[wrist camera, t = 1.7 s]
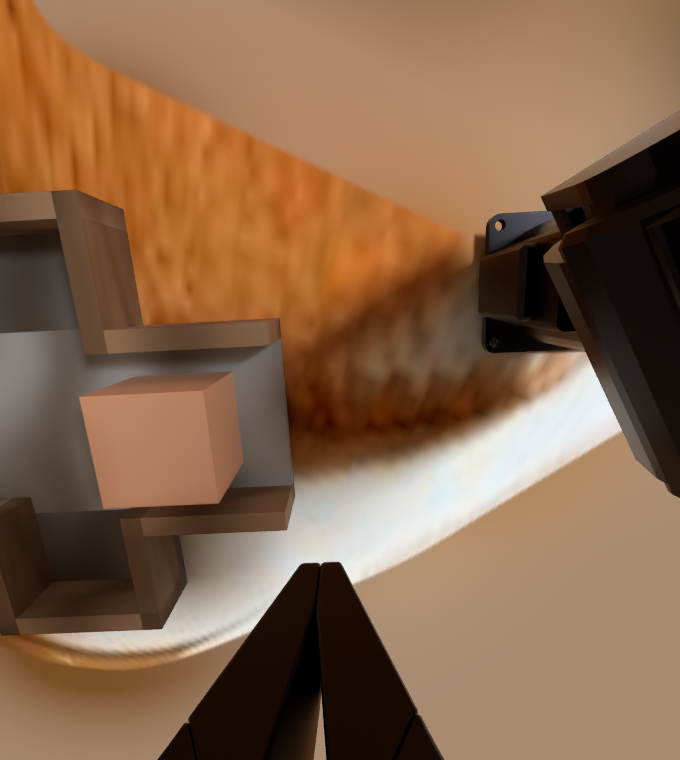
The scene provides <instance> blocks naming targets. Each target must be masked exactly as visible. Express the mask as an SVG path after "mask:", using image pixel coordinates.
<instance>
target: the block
mask: <svg viewBox="0 0 680 760" xmlns="http://www.w3.org/2000/svg"><path fill="white" fill-rule="evenodd" d="M79 399H80V404H81V408H82V413H83V417H84V422H85V427H86V431H87V436H88V440H89V445H90V449H91V454H92V458H93V463H94V467H95V472H96V477H97V481H98V486H99V490H100V495H101V499H102V504H103V508H104V509H107V508H129V507H151V506H173V505H195V504H217V503H219V502H220V500H221V499H222V497H223V495H224V494H225V492H226V490H227V489H228V487H229V486H230V484H231V482H232V481H233V479H234V477H235V476H236V474H237V472H238V471H239V469H240V467H241V466H242V464H243V462H244V461H243V453H242V444H241V436H240V428H239V419H238V411H237V403H236V394H235V386H234V378H233V371H227V372H207V373H188V374H168V375H148V376H134V377H132V378H129V379H126V380H124V381H121V382H118V383H115V384H113V385H110V386H107V387H105V388H102V389H99V390H96V391H94V392H91V393H88V394H86V395H83V396H80V397H79Z"/></svg>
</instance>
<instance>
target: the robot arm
mask: <svg viewBox="0 0 680 760" xmlns="http://www.w3.org/2000/svg"><path fill="white" fill-rule="evenodd" d="M541 198H542V201H543V203H544V205H545V207H546V210H547V211H538V212H520V213H503V214H498V215H495V216H493V217H492V218H491V219H490V220H489V221H488V222H487V226H486V244H485V256H484V257H483V259H482V260H481V261H480V271H479V302H478V312H479V313H480V314H481V316H483V329H482V346H483V348H484V349H485V350H486V351H488V352H491V353H506V352H526V351H546V350H565V349H577V350H581V351H585V352H586V354H587V356H588V358H589V360H590V362H591V365H592V367H593V369H594V371H595V373H596V375H597V377H598V380H599V382H600V384H601V386H602V388H603V390H604V392H605V394H606V397H607V399H608V401H609V403H610V405H611V407H612V409H613V412H614V414H615V416H616V418H617V420H618V422H619V424H620V427H621V429H622V431H623V433H624V435H625V437H626V439H627V441H628V444H629V446H630V448H631V450H632V452H633V454H634V457H635V459H636V460H637V461H638V462H639V463H641V464H642V465H643V466H644V467H645V468H646V469H647V470H648V471H649V472H651V473H652V474H653V475H654V476H655V477H656V478H657V479H659V480H661V481H663V482H664V483H665V485H666V487H667V489H668V491H669V492H670V493H671V494H673V495H675V496H677V497H679V498H680V110H679V111H678V112H676V113H674V114H673V115H671V116H670V117H668V118H667V119H665V120H663V121H662V122H660V123H658V124H657V125H655V126H653V127H652V128H650V129H649V130H647V131H646V132H644V133H642V134H641V135H639V136H638V137H636V138H634V139H632V140H631V141H629V142H628V143H626V144H625V145H623V146H621V147H620V148H618V149H616V150H615V151H613V152H612V153H610V154H609V155H607V156H605V157H604V158H602V159H600V160H599V161H597V162H595V163H594V164H592V165H591V166H589V167H587V168H586V169H584V170H583V171H581V172H579V173H578V174H576V175H575V176H573V177H571V178H570V179H568V180H567V181H565V182H563V183H562V184H560V185H558V186H557V187H555V188H554V189H552V190H551V191H549V192H547V193H546V194H544V195H542V196H541ZM496 221H499V222H500V223H501V224H502V229H501V230H500V231H497V230H496V229H495V223H496ZM494 338H495V339H496V340H497V344H496V345H495V346H494V347H491V346H490V342H491V340H492V339H494ZM321 694H322V707H323V719H324V733H325V746H326V760H444V758H443V757H442V755H441V753H440V751H439V749H438V748H437V746H436V744H435V742H434V740H433V738H432V736H431V735H430V733H429V731H428V729H427V727H426V725H425V723H424V721H423V719H422V717H421V716H420V715H419V714H418V711H417V708H416V707H415V704H414V702H413V701H412V699H411V697H410V695H409V693H408V691H407V689H406V687H405V685H404V683H403V681H402V679H401V677H400V676H399V674H398V672H397V670H396V668H395V666H394V664H393V662H392V660H391V659H390V656H389V654H388V652H387V651H386V649H385V647H384V645H383V643H382V641H381V639H380V637H379V635H378V633H377V631H376V629H375V628H374V626H373V624H372V622H371V620H370V618H369V616H368V614H367V612H366V610H365V608H364V606H363V604H362V602H361V601H360V599H359V597H358V595H357V593H356V591H355V589H354V587H353V585H352V583H351V581H350V579H349V577H348V575H347V574H346V572H345V570H344V568H343V566H342V564H341V563H340V562H324V563H322V565H320V564H319V563H303V564H301V565H300V566H299V567H298V569H297V570H296V571H295V573H294V574H293V575H292V577H291V578H290V580H289V581H288V582H287V584H286V585H285V586H284V588H283V589H282V590H281V592H280V593H279V595H278V596H277V597H276V599H275V600H274V601H273V603H272V604H271V606H270V607H269V608H268V610H267V611H266V612H265V614H264V615H263V617H262V618H261V619H260V621H259V622H258V623H257V625H256V626H255V628H254V629H253V630H252V632H251V633H250V634H249V636H248V637H247V639H246V640H245V641H244V643H243V644H242V645H241V647H240V649H238V651H237V652H236V654H235V655H234V656H233V658H232V659H231V660H230V662H229V663H228V665H227V666H226V667H225V669H224V670H223V672H222V673H221V674H220V676H219V677H218V678H217V680H216V681H215V682H214V684H213V685H212V687H211V688H210V689H209V691H208V692H207V693H206V695H205V696H204V698H203V699H202V700H201V702H200V703H199V704H198V706H197V707H196V708H195V710H194V711H193V713H192V714H191V715H190V717H189V719H188V722H189V724H188V723H185V724H184V725H183V726H182V727H181V729H180V730H179V731H178V733H177V734H176V736H175V737H174V738H173V740H172V741H171V742H170V744H169V745H168V747H167V748H166V749H165V751H164V752H163V753H162V755H161V756H160V757H159V758H158V760H313V759H314V751H315V743H316V735H317V726H318V718H319V710H320V700H321Z"/></svg>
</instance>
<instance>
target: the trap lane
mask: <svg viewBox="0 0 680 760" xmlns="http://www.w3.org/2000/svg"><path fill="white" fill-rule="evenodd" d="M227 371H233V378H234V386H235V394H236V403H237V411H238V419H239V428H240V436H241V444H242V453H243V461H244V462H243V464H242V466H241V467H240V469H239V471H238V472H237V474H236V476H235V477H234V479H233V481H232V482H231V484H230V486H229V487H228V489H227V490H226V492H225V494H224V495H223V497H222V499H221V500H220V502H219V503H217V504H195V505H173V506H151V507H129V508H107V509H104V508H103V504H102V499H101V495H100V490H99V486H98V481H97V477H96V472H95V467H94V463H93V458H92V454H91V449H90V445H89V440H88V436H87V431H86V427H85V422H84V417H83V413H82V408H81V404H80V399H79V397H80V396H83V395H86V394H88V393H91V392H94V391H96V390H99V389H102V388H105V387H107V386H110V385H113V384H115V383H118V382H121V381H124V380H126V379H129V378H132V377H134V376H148V375H168V374H188V373H207V372H227ZM294 498H295V491H294V480H293V468H292V457H291V446H290V434H289V423H288V411H287V400H286V389H285V377H284V366H283V355H282V343H281V332H280V320H279V318H275V319H256V320H237V321H218V322H199V323H180V324H161V325H143V323H142V317H141V311H140V305H139V299H138V294H137V288H136V282H135V276H134V270H133V264H132V259H131V253H130V247H129V241H128V235H127V229H126V224H125V218H124V212H123V209H121V208H118V207H116V206H114V205H111V204H109V203H106V202H104V201H102V200H99V199H97V198H94V197H92V196H90V195H87V194H85V193H83V192H80V191H78V190H62V191H45V192H28V193H11V194H0V633H1V636H3V635H28V634H53V633H78V632H103V631H128V630H152V629H162V628H163V626H164V625H165V623H166V621H167V619H168V617H169V615H170V614H171V612H172V610H173V608H174V606H175V604H176V602H177V601H178V599H179V597H180V595H181V593H182V591H183V590H184V588H185V586H186V584H187V579H186V574H185V568H184V562H183V556H182V550H181V544H180V539H179V535H189V534H212V533H235V532H257V531H280V530H287V527H288V523H289V519H290V515H291V510H292V506H293V502H294Z"/></svg>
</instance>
